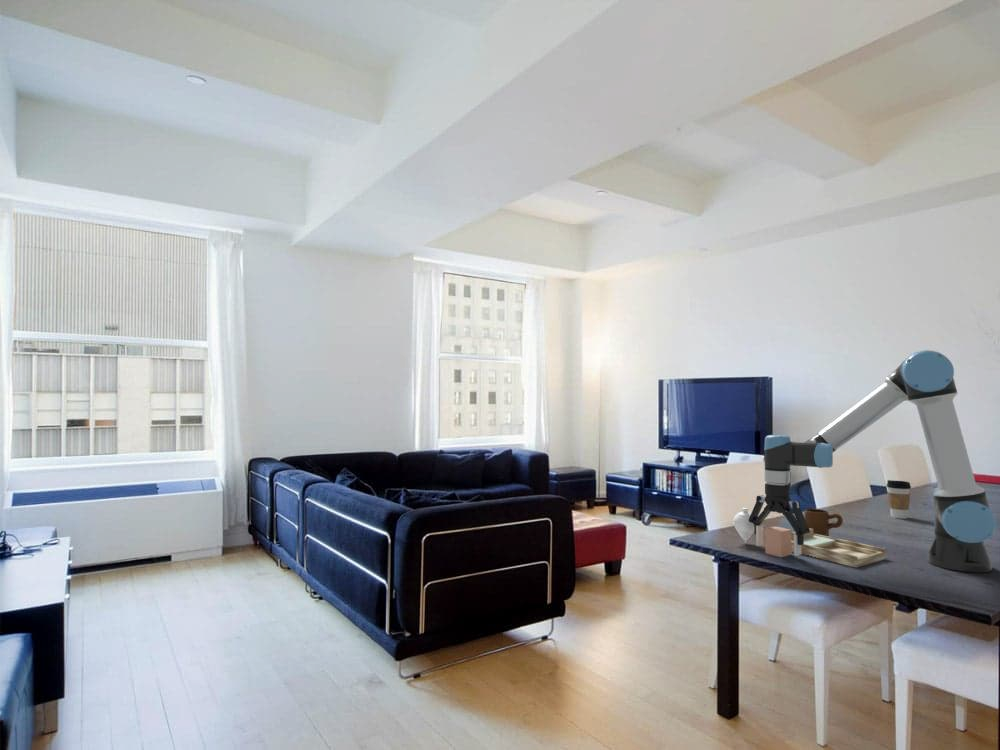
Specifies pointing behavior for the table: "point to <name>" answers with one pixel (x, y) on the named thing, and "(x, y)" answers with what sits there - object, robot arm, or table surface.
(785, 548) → the block
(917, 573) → the table surface
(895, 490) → the coffee cup
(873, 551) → the beige flat rectangular tray
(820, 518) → the mug
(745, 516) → the spinning top
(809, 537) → the lid
